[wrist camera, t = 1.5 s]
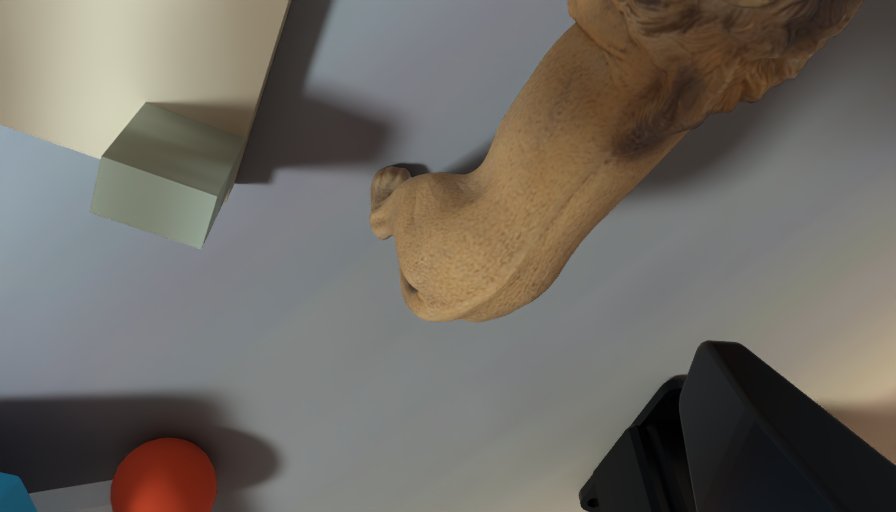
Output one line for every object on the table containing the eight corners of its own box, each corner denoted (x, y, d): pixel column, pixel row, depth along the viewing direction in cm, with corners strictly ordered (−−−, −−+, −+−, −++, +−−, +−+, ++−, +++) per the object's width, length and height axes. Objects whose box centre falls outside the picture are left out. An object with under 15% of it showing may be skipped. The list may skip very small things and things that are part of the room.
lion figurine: (602, -331, 15) (762, -405, 8) (816, -198, 17) (1129, -152, 9) (337, 242, 23) (287, 490, 15) (500, 303, 24) (529, 560, 16)
